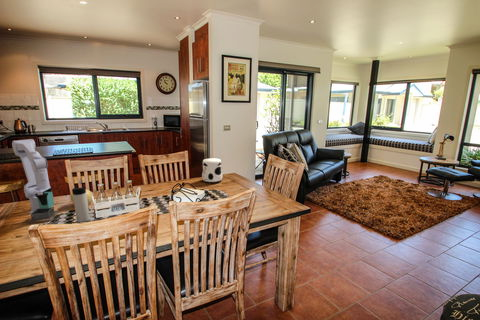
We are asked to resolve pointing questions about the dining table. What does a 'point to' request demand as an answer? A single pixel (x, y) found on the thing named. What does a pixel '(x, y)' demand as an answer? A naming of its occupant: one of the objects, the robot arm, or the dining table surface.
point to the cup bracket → (42, 214)
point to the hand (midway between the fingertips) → (46, 202)
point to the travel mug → (81, 204)
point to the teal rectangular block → (49, 201)
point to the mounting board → (42, 219)
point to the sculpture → (89, 197)
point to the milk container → (212, 170)
